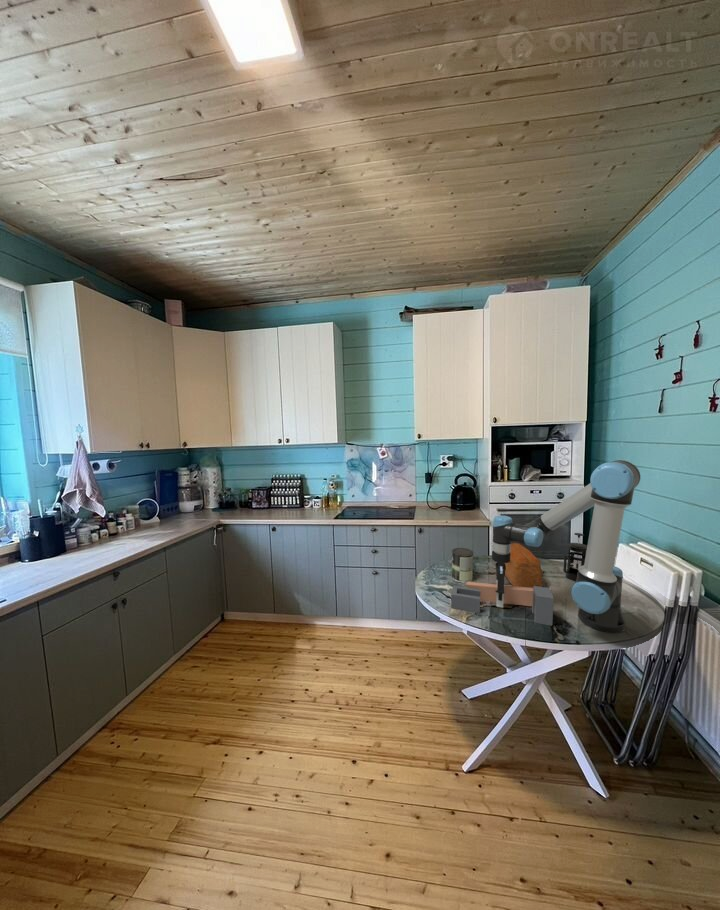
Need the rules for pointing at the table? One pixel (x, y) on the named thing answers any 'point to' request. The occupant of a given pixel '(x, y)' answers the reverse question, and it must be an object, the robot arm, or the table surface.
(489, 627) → the table surface
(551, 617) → the cap
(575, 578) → the french press
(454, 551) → the coffee can
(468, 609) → the far end cap
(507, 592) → the slat
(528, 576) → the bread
